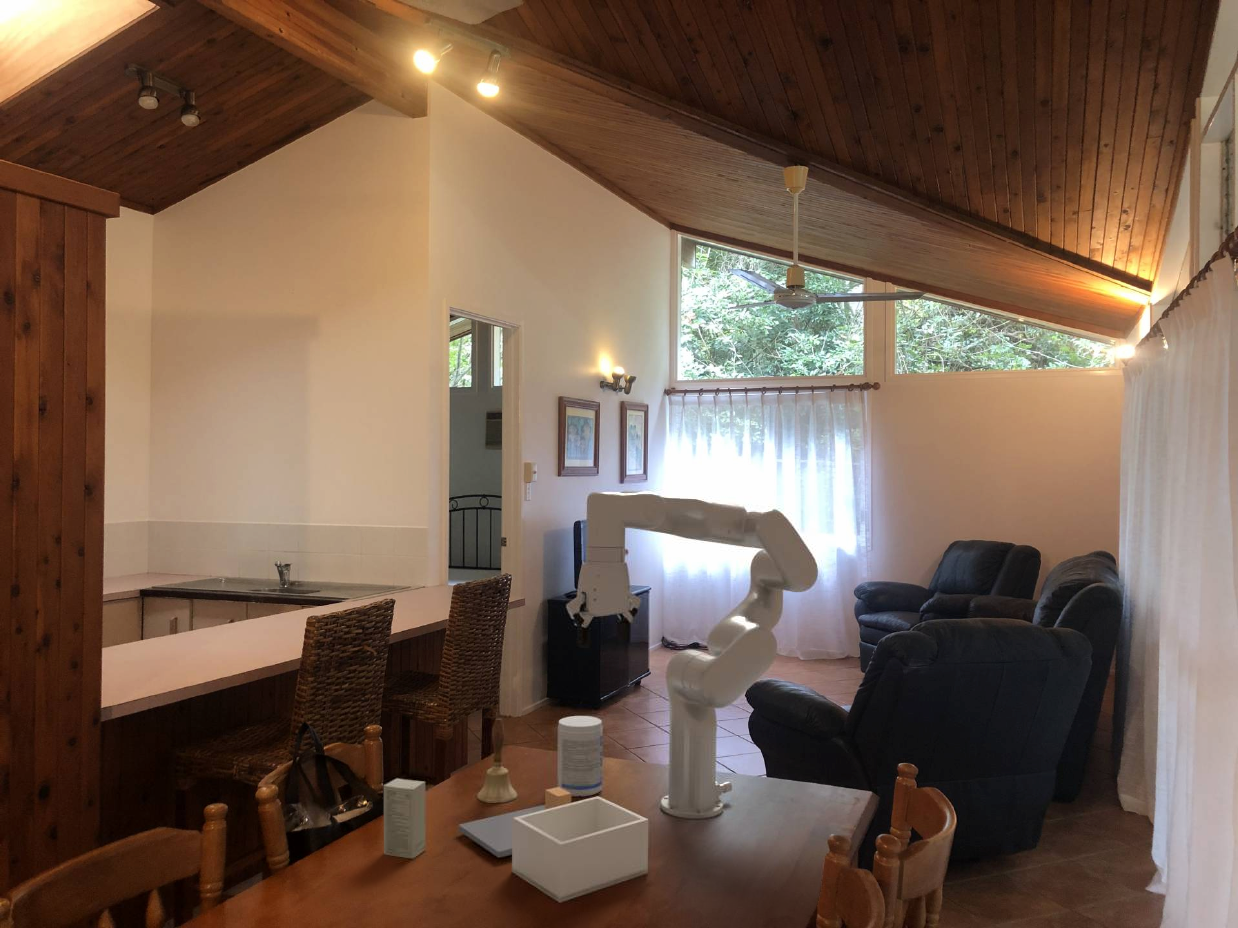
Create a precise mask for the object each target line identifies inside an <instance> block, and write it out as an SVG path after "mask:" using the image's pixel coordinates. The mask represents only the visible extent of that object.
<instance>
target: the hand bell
mask: <svg viewBox="0 0 1238 928" xmlns="http://www.w3.org/2000/svg"><path fill="white" fill-rule="evenodd" d="M491 739H492V745H493V763H492V764H493V765H492V767H490V768H489V769H487V770H486V776H485V781H484V783H483V784H484V785H483V787H482V788H481V790H480V791H479V792H478V794H477V795H476V798H477V799H478V800H479V801H481V802H484V803H490V804H501V803H502V804H503V803H508V802H511V801H514V800H515V799H516V798H518V793H517V791H516V790H515V789H514V788H513V786H512V784H511V781H510V777H509V770H508V769H507V768H505V767H504V766H503V764H502V757H503V756H502V754H503V753H502V750H503V745H504V742H505V727H504V724H503V719H502V718H495V719H494V724H493V727H492V731H491Z"/></svg>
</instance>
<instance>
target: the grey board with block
mask: <svg viewBox="0 0 1238 928" xmlns="http://www.w3.org/2000/svg"><path fill="white" fill-rule="evenodd" d="M544 792H545V795H544V797H545V798H544V799H545V802H544V804H542V805H541V804H540V805H538V806H533V807H529V808H525V809H521V810H517V811H513V812H508V813H502V814H498V815H495V816H491V817H486V818H482V819H477V820H473V821H469V822H465V823H464V822H463V823H460V824H458V827H457V828H458V831H459V832H460V833H461V834H463V835H464V836H467V837H468V838H469V839H470V840H472V841H473V842H475V843H476V844H477V845H479V846H481V847H482V848H483V849H485V850H487V851H488V852H490V853H491V854H492V855H494V856H495V857H497V858H498V859H499V858H505V857H507V856H512V843H513V818H515V817H519V816H522V815H526V814H530V813H534V812H538V811H542V810H546V809H550V808H554V807H558V806H562V805H566V804H569V803H572V796H571V793H570V792H568V791H566V790H564V789H562V788H560V787H558V786H556V787H553V788H549V789H545V791H544Z"/></svg>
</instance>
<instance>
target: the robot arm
mask: <svg viewBox="0 0 1238 928" xmlns="http://www.w3.org/2000/svg"><path fill="white" fill-rule="evenodd" d="M626 529H633V530H640V531H641V530H642V531H647V532H654V533H660V534H667V535H671V536H674V537H675V536H676V537H680V538H684V539H689V540H694V541H702V542H709V543H716V544H723V545H730V546H734V547H736V546H737V547H742V548H743V547H744V548H752V549H761V550H759V551H757V552H756V553H755V555H754V556H753V558H752V559H751V563H750V568H749V569H750V572H749V573H750V575H749V576H750V585H749V588H748V589H749V590H748V593H747V595H746V596H745V597H744V599H743V600H742V601H741V602H740V603H739V604H738V605H737V606H736V607H734V609H732V610H731V611H730V612H729V613H727V615H725V617H724V618H722V619H721V620H720V621H719V622H718V623H717V624H715V625H714V626H713V627H712V629H711V630H710V632H709V634H708V635H707V640H706V646H707V649H708V652H709V653H710V654H709V653H706V652H704V651H700V650H695V649H683V650H680V651H679V652H677V653H675V654H674V655H672V657H671V658H670V660H669V661H668V663H667V666H666V671H665V683H666V690H667V697H668V704H669V705H668V706H669V730H668V731H669V733H668V734H669V738H668V739H669V742H668V743H669V745H668V749H669V750H668V794H667V795H665V796H663V797H662V798H661V800H660V808H661V810H662V811H663V812H665V813H666V814H669V815H671V816H673V817H677V818H683V819H693V820H695V819H697V820H700V819H708V818H713V817H716V816H718V815H720V814H721V813H723V810H724V802H723V801H722V800H721V799H720V796H721V795H722V794H725V793H728V792H731V791H732V790H733V786H732V783H731V782H730V781H726V782H723V783H720V784H719V783H718V781H717V780H716V778H717V774H716V773H717V731H718V729H717V728H718V725H717V724H718V723H717V722H718V721H717V720H718V719H717V712H716V711H717V710H716V709H723V708H726V707H729V706H730V705H732V704H734V703H735V702H736V701H737V700H738V699H740V697H741V696H742V695H743V694H744V693H746V692H747V691H748V690H749V689H750V688H751V687H752V686H753V685H754V684H755V683H756V682H757V681H758V680H760V678H761V677H762V676H763V675H764V674H765V673H766V672H767V671H768V670H769V669H770V667H771V666H772V665H773V663H774V661H775V658H776V656H777V653H778V643H777V638H776V636H775V634H774V633H773V631H772V630H773V629H774V628H775V627H776V626H777V624H778V623H779V621H780V619H781V617H782V614H783V609H784V608H783V607H784V591H786V592H792V593H803V592H806V591H808V590H811V588H813V586H814V585H815V584H816V582H817V580H818V574H819V569H818V564H817V561H816V559H815V557H814V555H813V553H812V552H811V550H810V549H809V547H808V546H807V544H806V543H805V541H804V540H803V538H802V536H801V535H800V534H799V533H798V531H797V530H796V528H795V527H794V525H793V524H792V523H791V522H790V520H789V519H788V518H787V517H786V516H785V515H784V514H783V513H782V512H781V511H780V510H778V509H776V508H772V507H771V508H770V507H757V506H756V507H755V506H749V505H740V504H736V503H729V502H724V501H718V500H712V499H708V498H700V497H699V498H698V497H670V496H669V497H668V496H661V495H660V494H659V493H656V492H652V491H648V490H647V491H646V490H623V491H619V492H618V491H616V492H615V491H593V492H590V493H589V494H588V496H587V499H586V534H585V535H586V539H585V541H586V542H585V543H586V544H585V562H582V564H581V567H580V571H579V577H578V581H577V582H578V584H577V592H576V597H575V598H573V599H572V600H570V601H569V602H567V603H566V604H565V607H566V610H567V612H568V614H569V618H570V620H571V621H572V622H573V623H574V626H576V627H577V628H576V632H577V633H576V642H577V647H579V648H582V649H586V650H588V649H590V648H591V627H590V626H589V625H590V623H591V622H592V620H593V618H594V617H604V616H605V617H606V616H615V615H617V617H618V618H619V620H618V621H617V632H616V633H617V635H616V636H617V642H619V643H622V644H630V642H631V623H633V622H634V618H635V616H636V615H637V614H638V613H639V612H638V611H639V607H640V606H641V602H642V599H641V597H638V596H637V595H635V594H634V593H633V592H631V582H630V574H629V568H628V563H627V562H626V557H627V556H628V555H629V549H627V548H626Z"/></svg>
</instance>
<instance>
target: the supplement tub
mask: <svg viewBox="0 0 1238 928" xmlns="http://www.w3.org/2000/svg"><path fill="white" fill-rule="evenodd" d="M603 744H604V743H603V722H602V720H601V719H600V718H599V717H594V716H589V715H574V716H573V715H572V716H567V717H566V716H565V717H563V718H561V719H559V720H558V727H557V787H560V788H562V789H564V790H566V791H568V792H570V793H571V797H577V796H578V798H579V796H581V797H589V796H590V797H591V796H594V795H596V794H598V793H599V792H600V791H602V788H603Z"/></svg>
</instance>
